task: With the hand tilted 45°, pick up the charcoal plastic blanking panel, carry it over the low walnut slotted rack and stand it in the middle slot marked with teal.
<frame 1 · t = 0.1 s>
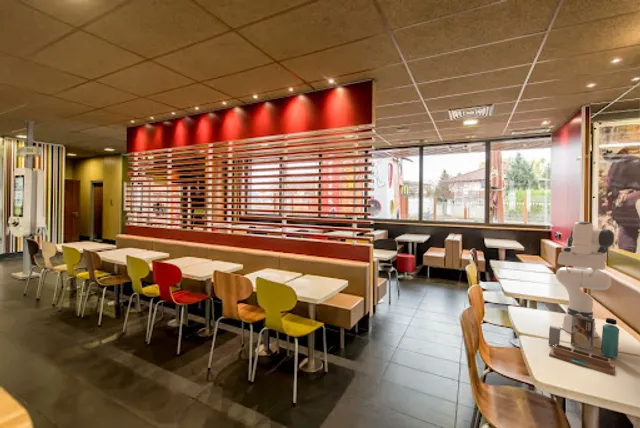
hand: (579, 275, 171), 39 cm above the table, tool pointing down, fingers open, 8 cm apart
beverage bottle: (608, 357, 158), on the table
blanking panel: (553, 345, 170), on the table
coffee box: (581, 346, 170), on the table
rack: (580, 360, 154), on the table
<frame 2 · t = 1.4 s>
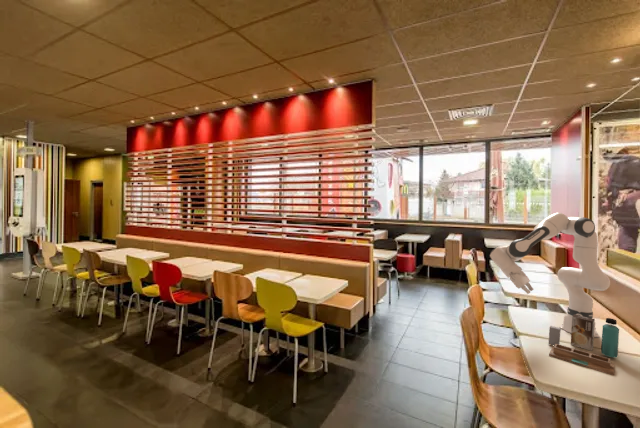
hand: (530, 291, 177), 27 cm above the table, tool tilted 45°, fingers open, 8 cm apart
nothing on the table moved.
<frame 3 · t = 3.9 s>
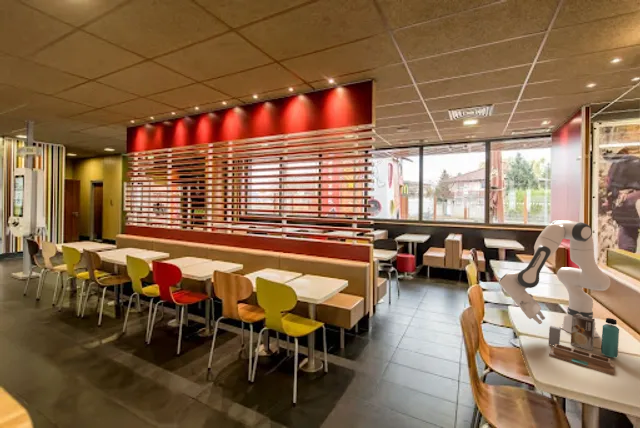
hand: (542, 321, 173), 12 cm above the table, tool tilted 45°, fingers open, 8 cm apart
nothing on the table moved.
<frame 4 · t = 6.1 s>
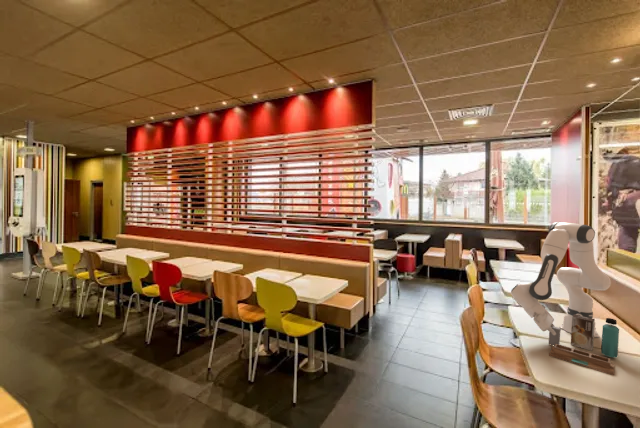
hand: (556, 333, 169), 7 cm above the table, tool tilted 45°, fingers closed on blanking panel, 3 cm apart
blanking panel: (553, 345, 170), on the table, touching gripper
everything else where it was.
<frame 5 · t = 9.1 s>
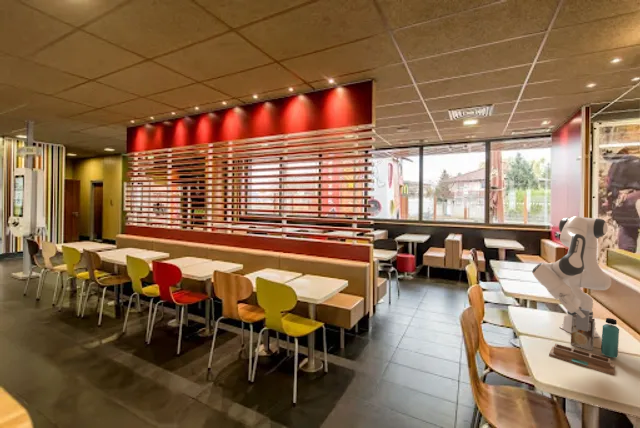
hand: (584, 316, 152), 23 cm above the table, tool tilted 45°, fingers closed on blanking panel, 3 cm apart
blanking panel: (581, 329, 153), point 16 cm above the table, touching gripper
everything else where it was.
when the fingers open (9 cm above the table, at t = 11.9 s): blanking panel drops 1 cm, resting on rack.
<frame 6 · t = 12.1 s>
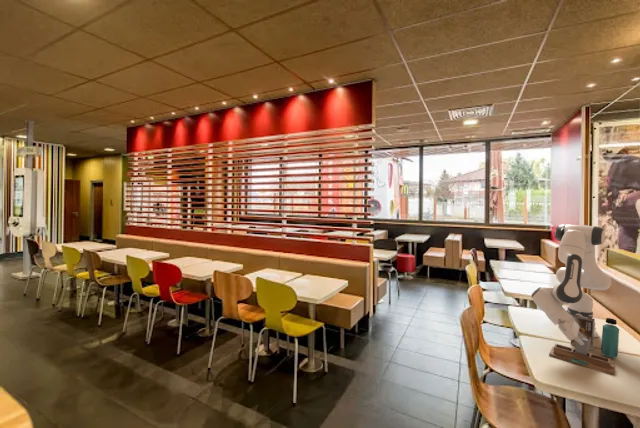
hand: (583, 342, 153), 9 cm above the table, tool tilted 45°, fingers open, 5 cm apart
blanking panel: (580, 358, 154), point 1 cm above the table, touching rack
everything else where it was.
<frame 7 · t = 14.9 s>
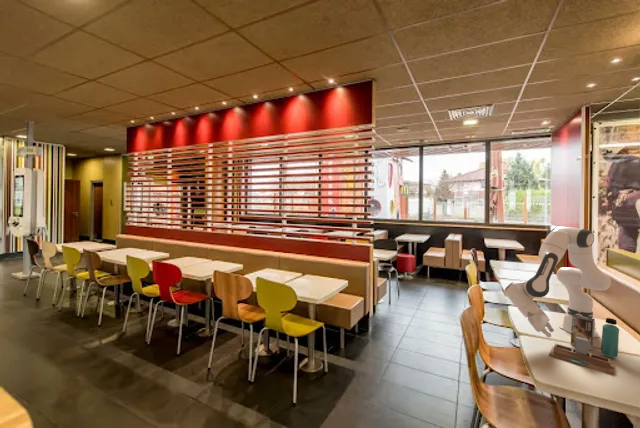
hand: (551, 334, 162), 9 cm above the table, tool tilted 45°, fingers open, 8 cm apart
nothing on the table moved.
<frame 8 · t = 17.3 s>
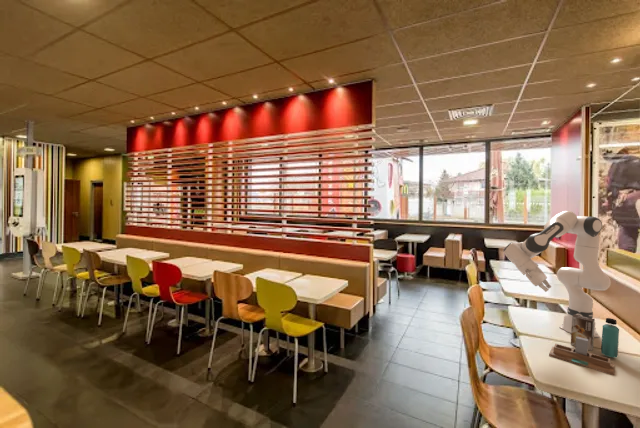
hand: (548, 289, 167), 31 cm above the table, tool tilted 45°, fingers open, 8 cm apart
nothing on the table moved.
at the end: blanking panel 0.1 cm off-centre on the rack, point 1.1 cm above the rack's base; blanking panel tilted 0°; the gripper is holding nothing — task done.
